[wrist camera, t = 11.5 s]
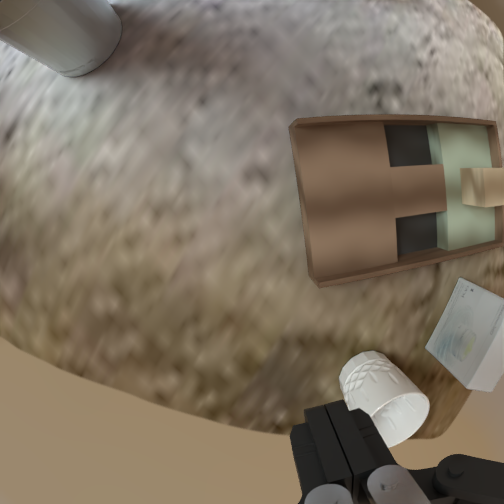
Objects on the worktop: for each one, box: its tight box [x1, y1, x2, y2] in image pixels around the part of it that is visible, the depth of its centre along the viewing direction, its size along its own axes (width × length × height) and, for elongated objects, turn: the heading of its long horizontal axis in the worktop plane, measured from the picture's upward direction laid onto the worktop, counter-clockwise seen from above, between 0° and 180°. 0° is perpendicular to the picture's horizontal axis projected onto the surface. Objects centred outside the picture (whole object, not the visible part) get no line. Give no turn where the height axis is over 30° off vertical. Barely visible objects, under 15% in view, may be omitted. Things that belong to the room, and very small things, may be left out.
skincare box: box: [425, 277, 504, 392], centre depth 29 cm, size 10×6×10 cm, turn 159°
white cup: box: [339, 351, 430, 448], centre depth 30 cm, size 8×8×10 cm
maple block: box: [460, 168, 504, 207], centre depth 26 cm, size 4×4×4 cm
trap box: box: [289, 115, 504, 288], centre depth 28 cm, size 15×25×4 cm, turn 99°
